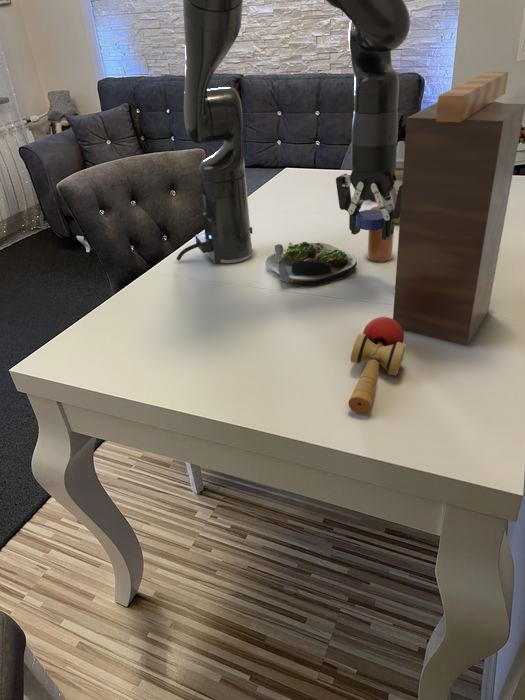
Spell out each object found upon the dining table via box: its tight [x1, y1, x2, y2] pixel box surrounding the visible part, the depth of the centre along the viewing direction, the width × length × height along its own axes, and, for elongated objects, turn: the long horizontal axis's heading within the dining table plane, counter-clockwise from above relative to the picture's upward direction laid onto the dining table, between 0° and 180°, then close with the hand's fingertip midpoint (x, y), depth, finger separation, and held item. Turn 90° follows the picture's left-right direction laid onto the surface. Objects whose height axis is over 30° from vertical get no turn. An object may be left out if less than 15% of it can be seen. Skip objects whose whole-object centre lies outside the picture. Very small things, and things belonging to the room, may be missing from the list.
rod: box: [436, 71, 509, 123], centre depth 72 cm, size 22×3×3 cm, turn 146°
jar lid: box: [355, 209, 384, 231], centre depth 97 cm, size 6×6×2 cm
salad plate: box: [264, 241, 358, 287], centre depth 109 cm, size 19×18×5 cm
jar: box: [367, 205, 395, 263], centre depth 108 cm, size 5×5×10 cm
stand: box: [392, 101, 525, 347], centre depth 80 cm, size 12×12×32 cm
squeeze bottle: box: [384, 140, 405, 224], centre depth 124 cm, size 8×8×18 cm
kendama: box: [347, 316, 407, 415], centre depth 75 cm, size 8×6×18 cm
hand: (370, 235), depth 98 cm, fingers closed on jar lid, 5 cm apart
